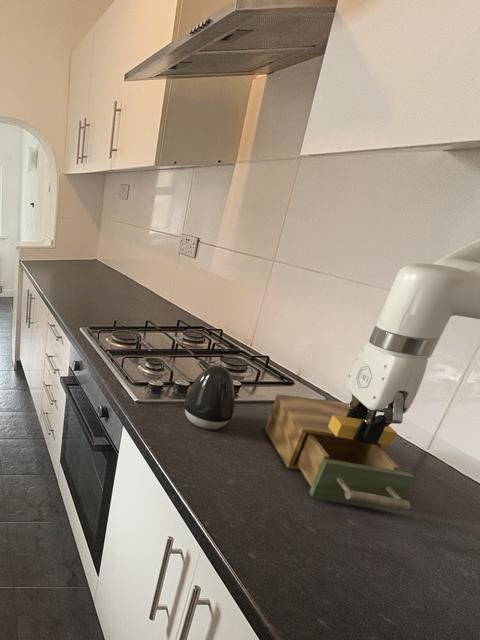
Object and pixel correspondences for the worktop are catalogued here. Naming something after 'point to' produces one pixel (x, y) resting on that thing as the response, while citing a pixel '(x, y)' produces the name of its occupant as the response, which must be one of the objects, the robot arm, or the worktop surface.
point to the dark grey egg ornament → (210, 398)
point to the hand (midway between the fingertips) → (358, 434)
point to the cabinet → (301, 423)
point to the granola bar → (349, 427)
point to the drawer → (352, 473)
